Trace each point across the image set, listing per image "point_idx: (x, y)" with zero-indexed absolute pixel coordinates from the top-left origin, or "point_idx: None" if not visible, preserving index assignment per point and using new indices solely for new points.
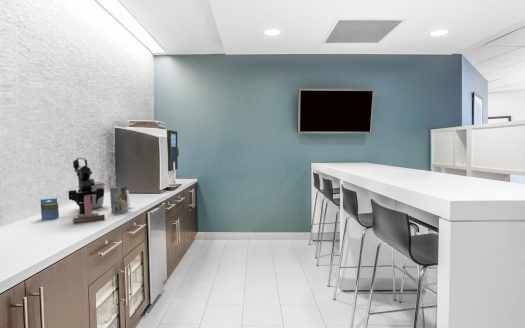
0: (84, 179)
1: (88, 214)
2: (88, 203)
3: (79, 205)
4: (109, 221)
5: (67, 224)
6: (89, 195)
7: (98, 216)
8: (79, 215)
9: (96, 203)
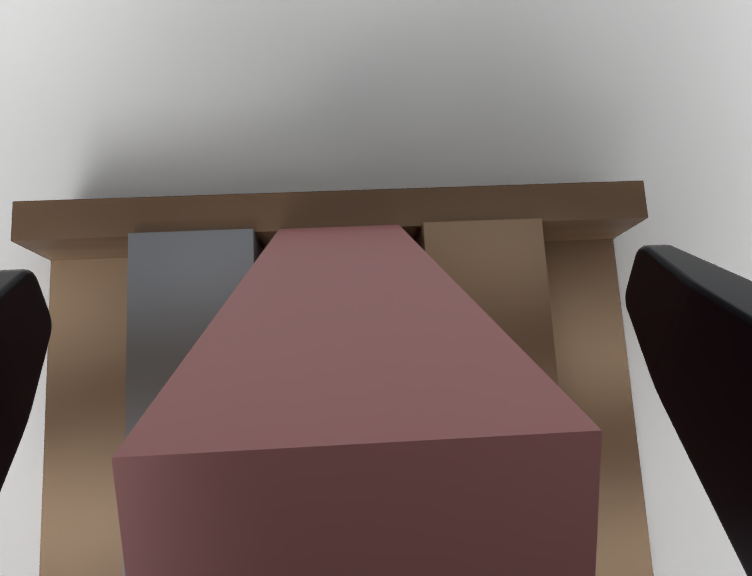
0: None
1: (351, 233)
2: (328, 284)
3: (646, 255)
4: (18, 27)
5: (698, 229)
6: (174, 456)
7: (153, 204)
8: None
9: (24, 271)
